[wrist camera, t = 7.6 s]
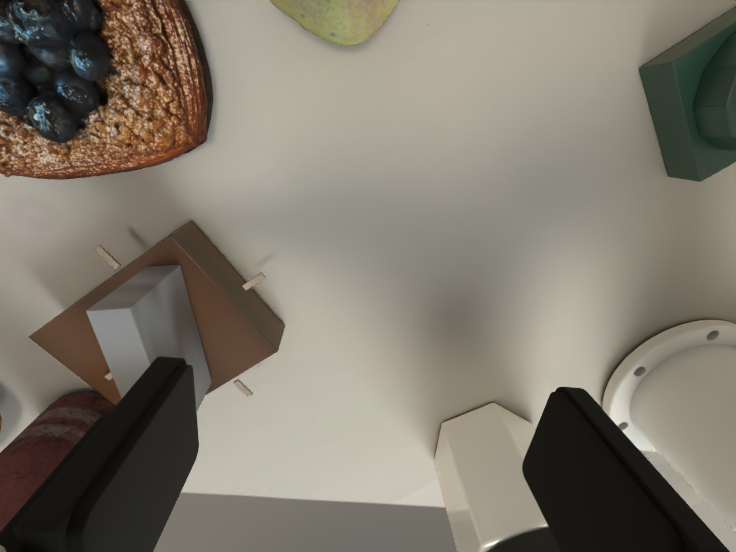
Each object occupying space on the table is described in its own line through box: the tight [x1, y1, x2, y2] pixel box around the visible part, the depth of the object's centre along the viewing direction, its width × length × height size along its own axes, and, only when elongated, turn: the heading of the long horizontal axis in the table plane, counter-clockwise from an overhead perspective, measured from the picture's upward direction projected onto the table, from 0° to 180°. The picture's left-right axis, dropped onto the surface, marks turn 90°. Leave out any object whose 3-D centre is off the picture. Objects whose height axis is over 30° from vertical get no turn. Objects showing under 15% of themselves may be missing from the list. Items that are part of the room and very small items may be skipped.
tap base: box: [29, 221, 285, 405], centre depth 22 cm, size 14×12×3 cm
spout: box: [86, 265, 212, 412], centre depth 18 cm, size 8×2×5 cm, turn 3°
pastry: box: [0, 0, 213, 180], centre depth 15 cm, size 11×12×6 cm
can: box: [0, 392, 116, 532], centre depth 20 cm, size 6×6×14 cm
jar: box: [434, 403, 561, 552], centre depth 25 cm, size 9×8×12 cm
